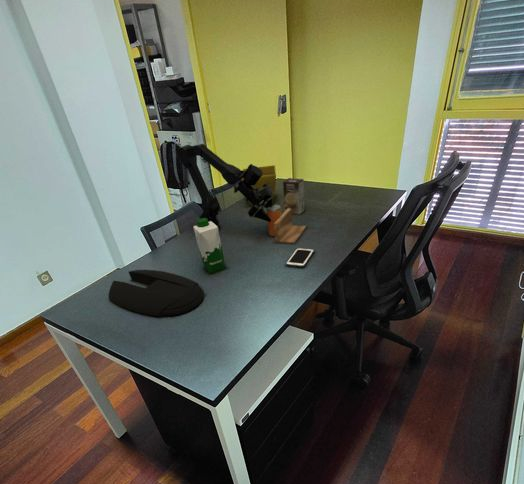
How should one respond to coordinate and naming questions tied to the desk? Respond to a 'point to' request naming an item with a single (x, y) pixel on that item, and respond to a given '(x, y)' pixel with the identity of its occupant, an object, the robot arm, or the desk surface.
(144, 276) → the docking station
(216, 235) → the milk carton
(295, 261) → the cell phone
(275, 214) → the tin can
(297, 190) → the coffee box
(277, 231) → the wooden bookend
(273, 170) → the cardboard box
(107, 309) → the desk surface
